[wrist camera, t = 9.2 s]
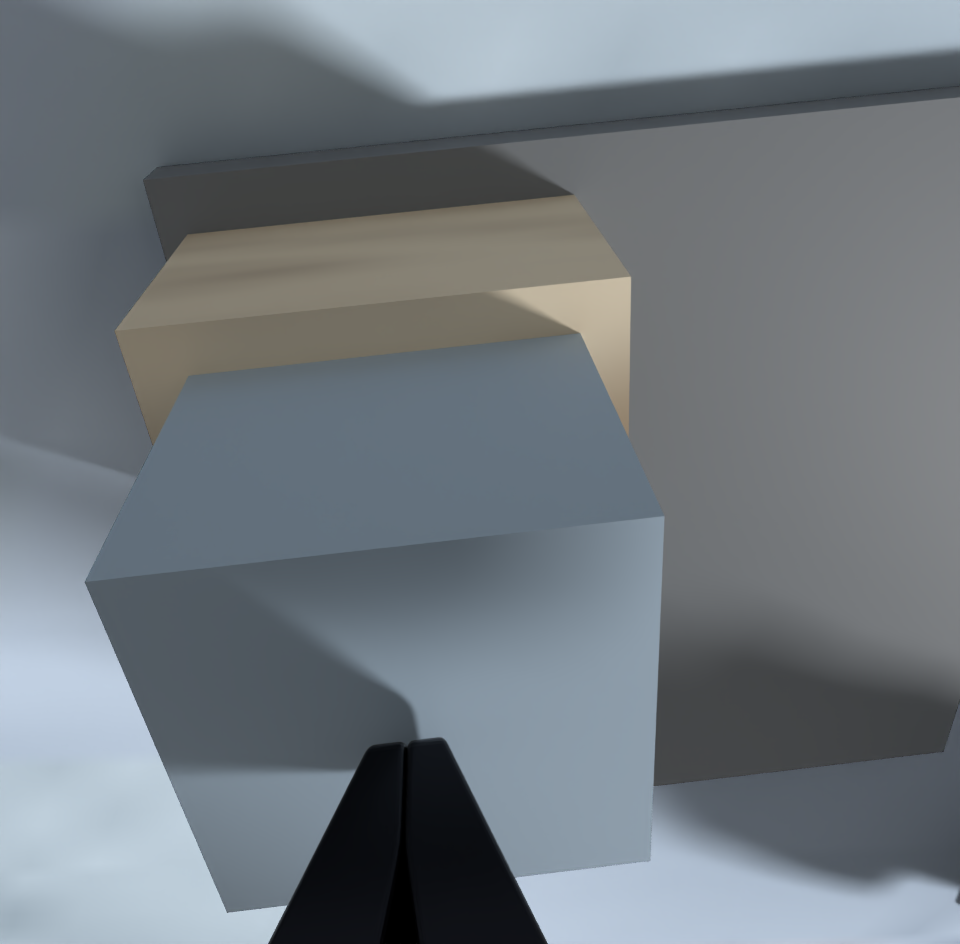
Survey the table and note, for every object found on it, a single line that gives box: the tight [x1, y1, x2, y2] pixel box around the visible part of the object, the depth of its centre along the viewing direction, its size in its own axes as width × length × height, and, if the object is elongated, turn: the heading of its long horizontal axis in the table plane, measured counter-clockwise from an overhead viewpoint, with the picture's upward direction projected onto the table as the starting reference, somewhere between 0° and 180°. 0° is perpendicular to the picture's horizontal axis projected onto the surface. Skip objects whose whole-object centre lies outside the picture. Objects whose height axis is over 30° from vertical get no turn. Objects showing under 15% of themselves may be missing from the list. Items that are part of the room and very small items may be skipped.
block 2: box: [85, 333, 665, 913], centre depth 11 cm, size 6×6×4 cm
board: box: [143, 86, 960, 786], centre depth 20 cm, size 18×18×1 cm
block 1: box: [115, 195, 631, 445], centre depth 15 cm, size 7×7×4 cm
